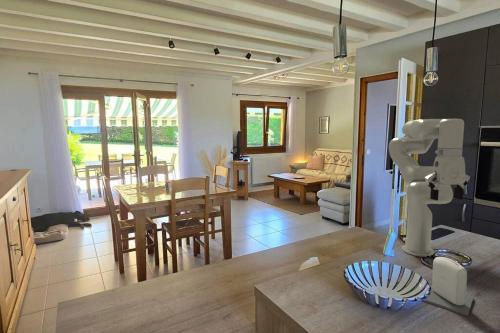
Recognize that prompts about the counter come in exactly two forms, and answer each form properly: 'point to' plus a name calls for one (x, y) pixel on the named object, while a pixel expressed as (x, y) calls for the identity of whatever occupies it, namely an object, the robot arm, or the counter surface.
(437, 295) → the mat
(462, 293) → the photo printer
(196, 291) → the counter surface
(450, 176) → the robot arm
